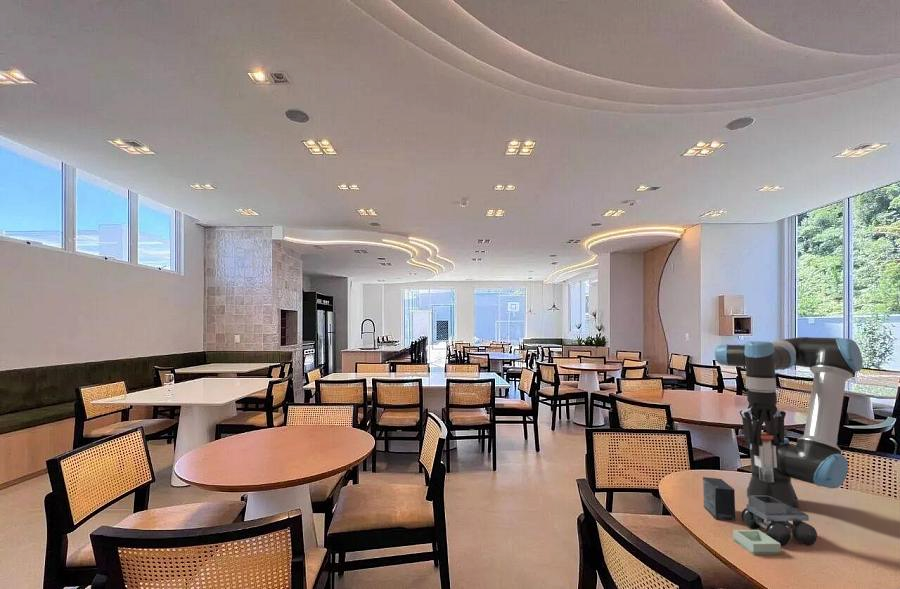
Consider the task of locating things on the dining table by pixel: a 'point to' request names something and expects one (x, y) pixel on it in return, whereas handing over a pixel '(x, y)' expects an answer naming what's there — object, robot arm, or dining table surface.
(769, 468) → the pin
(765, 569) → the dining table surface
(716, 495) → the small box
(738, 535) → the tray
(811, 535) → the trolley
